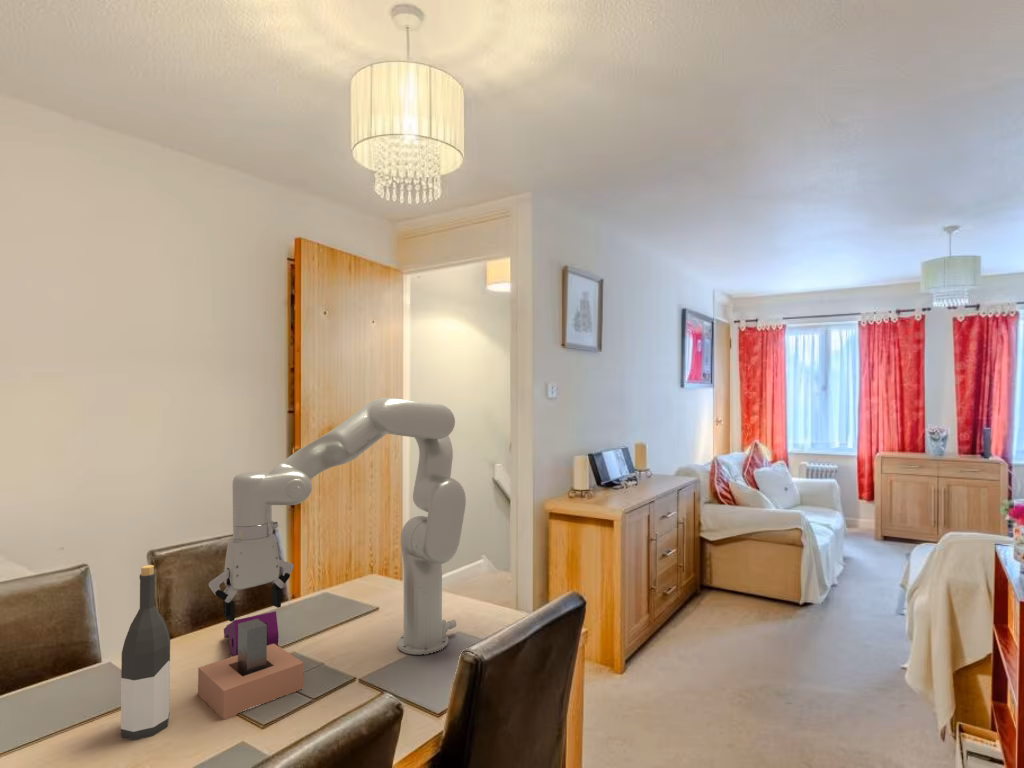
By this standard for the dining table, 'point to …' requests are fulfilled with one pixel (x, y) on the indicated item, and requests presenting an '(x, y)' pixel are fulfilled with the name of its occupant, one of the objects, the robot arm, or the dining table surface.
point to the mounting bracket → (267, 618)
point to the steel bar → (252, 647)
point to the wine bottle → (145, 667)
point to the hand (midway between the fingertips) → (253, 612)
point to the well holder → (248, 682)
